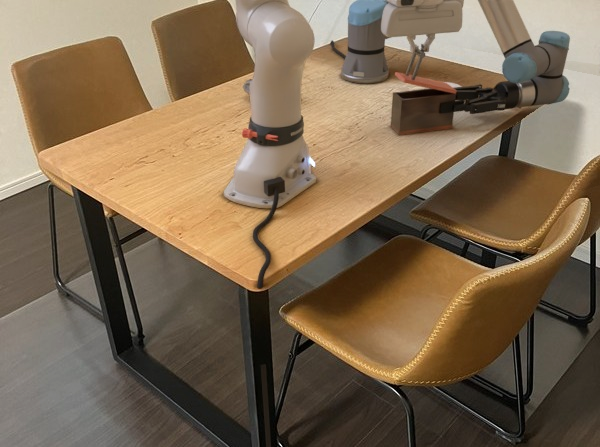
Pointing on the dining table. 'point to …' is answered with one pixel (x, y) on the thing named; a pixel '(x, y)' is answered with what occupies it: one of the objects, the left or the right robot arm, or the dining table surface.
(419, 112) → the chest
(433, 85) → the lid
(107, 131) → the dining table surface
